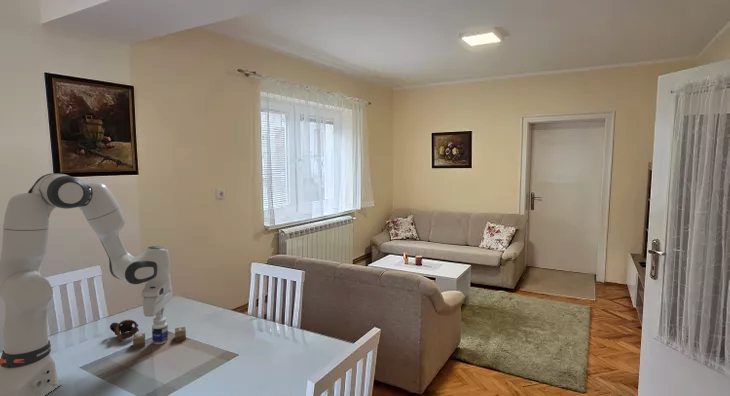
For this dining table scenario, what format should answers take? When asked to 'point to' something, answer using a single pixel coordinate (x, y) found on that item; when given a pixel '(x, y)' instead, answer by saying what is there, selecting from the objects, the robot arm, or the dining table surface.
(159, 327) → the pill bottle
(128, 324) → the pottery mug
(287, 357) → the dining table surface
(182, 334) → the walnut block bar
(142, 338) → the walnut block dot
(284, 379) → the dining table surface
